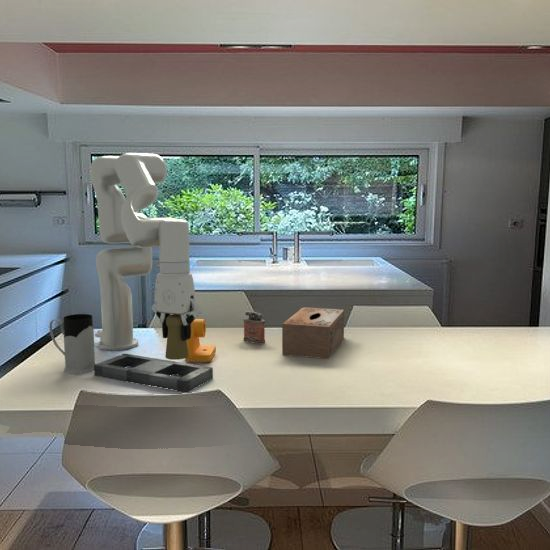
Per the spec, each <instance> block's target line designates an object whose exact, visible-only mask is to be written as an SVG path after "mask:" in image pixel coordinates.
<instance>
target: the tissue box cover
mask: <svg viewBox="0 0 550 550" xmlns="http://www.w3.org/2000/svg"><path fill="white" fill-rule="evenodd" d="M281 328H282V331H281V332H282V333H281V334H282V336H281V337H282V338H281V339H282V340H281V341H282V344H281V348H282V349H281V354H283V355H282V356H290V355H292V356H293V357H302V358H303V357H305V358H313V359H315V358H316V359H327V360H329V359H330V358H331V356H332V355H334V354H333V353H334V352H335V351H336V350H337V348H338V346H339V345H340V343H341V342H342V341H343V340H344V338H345V309H337V308H323V307H321V308H320V307H307V306H306V307H302V308H300V309H298V310H297V312H295V313H293V315H291V316H290V317H289V318H288V319H286V320H285V321H284V322H283V323H282V327H281ZM292 356H291V357H292Z"/></svg>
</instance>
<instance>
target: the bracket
mask: <svg viewBox="0 0 550 550" xmlns="http://www.w3.org/2000/svg"><path fill="white" fill-rule="evenodd" d="M206 331H207V323H206V319H205V318H196V319H195V320H194V321H193V323H191V338H190V339H188V340H186V341H187V347H188V353H189V357H187V358H185V359H184V361H185V362H204V363H205V362H206V363H207V362H210V361H213V360H214V359H215V357H216V356H215V355H216V353H217V349H216V348H217V347H216V345H215V344H214V345H213V344H211V345H210V344H200V343H201V342H200V338H205V336H206ZM214 356H215V357H214ZM213 358H214V359H213Z"/></svg>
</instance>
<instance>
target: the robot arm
mask: <svg viewBox="0 0 550 550" xmlns="http://www.w3.org/2000/svg"><path fill="white" fill-rule="evenodd" d="M167 169H168V168H167V164H166V161H165V160H164V159H163V158H162V157H161V156H160V155H159V154H156V153H141V152H139V153H138V152H127V153H124V154H120V155H103V156H98V157H96V158H94V159H93V161H92V162H91V164H90V173H89V174H90V180H91V184H92V187H93V190H94V192H95V195H96V199H97V200H96V201H97V215H98V231H99V237H100V239H101V241H102V242H104V243H106V244H131V245H132V246H128V247H127V246H125V247H124V246H123V247H110V248H109V247H108V248H105V249H103V250H100V251H98V253H97V254H96V256H95V257H96V258H95V265H96V270H97V276H98V280H99V281H98V282H99V291H100V309H101V310H100V312H101V329H99V330H97V331H96V333H94V338H95V337H96V338H99V341H98V342H97V348H98V349H100V350H105V351H122V350H128V349H132V348H135V347H137V346H138V344H139V340H138V338H134V327H133V325H134V323H133V296H132V295H133V293H132V289H131V288H130V286H129V285H128V284H127V283H126V281H125V280H124V278H130V277H141V276H146V275H149V274H150V272H151V271H152V268H153V248H154V247H156V248H158V256H159V258H158V261H159V262H157V263H156V268H158V269H159V273H156V277H155V285H154V301H153V302H154V303H153V304H152V306H151V310H152V311H153V312H154V313H155V314H156V316H157V317H158V319H159V322H160V323H161V329H162V330H161V331H162V339H167V336H168V327H167V325H166V318H167V316H169V315H172V314H179V315H181V318H182V322H183V325H181V340H182V341H185V340H188V339H190V338H191V323H193V321H194V320H195V319H197V318H198V317H199V316H200V315H201V314H202V310H201V309H200V307H199V305H198V304H197V303H196V288H195V284H194V278H193V274H192V273H190V272H191V269H190V268H191V267H190V264H191V263H190V262H191V261H190V229H189V227H190V225H189V222H188V221H187V220H185V219H179V218H178V219H177V218H175V217H147V215H145V214H144V213H140V212H139V211H141V210H144V209H146V208H148V207H150V206H151V205H153V204H154V203H155V201H156V200H157V199H158V196H159V189H158V187H157V185H158V184H161V183H163V182H164V181H165V180H166V177H167V173H168V170H167ZM118 185H119V186H120V185H121V187H122V189H123V191H124V193H125V195H126V197H125V195H124V193H123V192H122V190H121V188H119V187H118Z"/></svg>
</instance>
